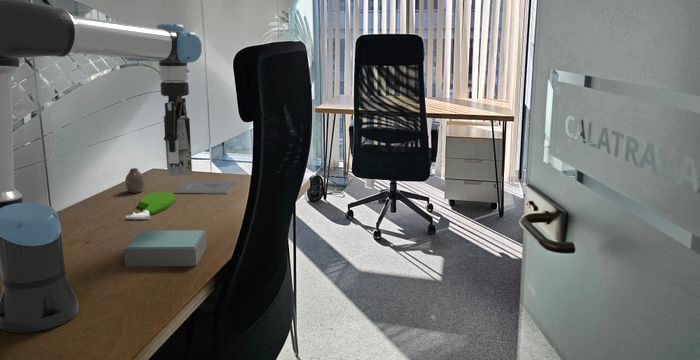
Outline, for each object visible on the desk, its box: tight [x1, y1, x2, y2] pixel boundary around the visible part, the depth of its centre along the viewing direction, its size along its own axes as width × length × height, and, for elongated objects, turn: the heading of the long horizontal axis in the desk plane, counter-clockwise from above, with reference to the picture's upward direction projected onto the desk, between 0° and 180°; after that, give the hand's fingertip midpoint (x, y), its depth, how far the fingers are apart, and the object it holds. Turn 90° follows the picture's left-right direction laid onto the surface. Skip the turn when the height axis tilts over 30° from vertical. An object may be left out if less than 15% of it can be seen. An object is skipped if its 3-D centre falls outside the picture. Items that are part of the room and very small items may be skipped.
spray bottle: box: [125, 192, 176, 220], centre depth 200 cm, size 3×11×24 cm
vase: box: [124, 167, 146, 194], centre depth 220 cm, size 7×7×9 cm
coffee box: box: [163, 115, 193, 177], centre depth 169 cm, size 9×6×16 cm
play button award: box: [172, 179, 236, 195], centre depth 227 cm, size 16×2×20 cm
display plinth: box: [123, 229, 208, 267], centre depth 158 cm, size 14×18×5 cm
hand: (178, 159), depth 170 cm, fingers closed on coffee box, 10 cm apart
